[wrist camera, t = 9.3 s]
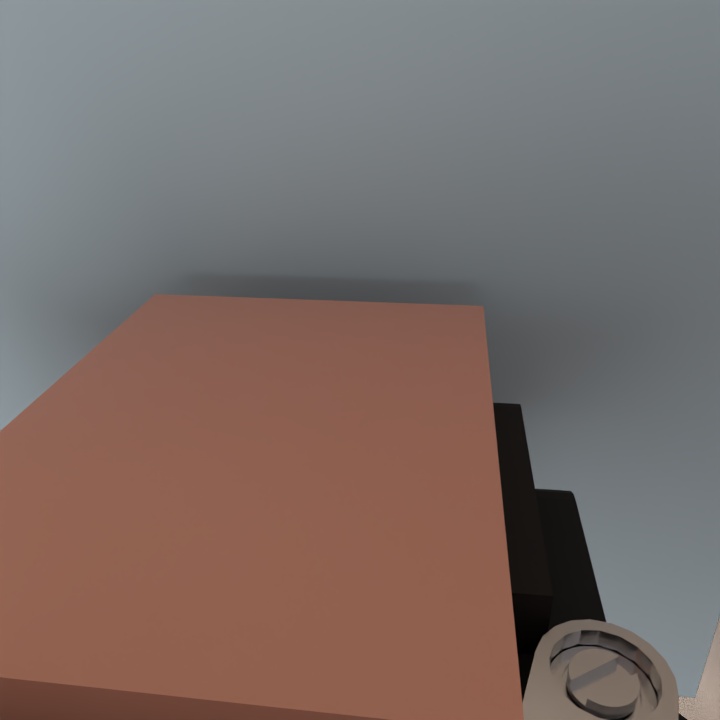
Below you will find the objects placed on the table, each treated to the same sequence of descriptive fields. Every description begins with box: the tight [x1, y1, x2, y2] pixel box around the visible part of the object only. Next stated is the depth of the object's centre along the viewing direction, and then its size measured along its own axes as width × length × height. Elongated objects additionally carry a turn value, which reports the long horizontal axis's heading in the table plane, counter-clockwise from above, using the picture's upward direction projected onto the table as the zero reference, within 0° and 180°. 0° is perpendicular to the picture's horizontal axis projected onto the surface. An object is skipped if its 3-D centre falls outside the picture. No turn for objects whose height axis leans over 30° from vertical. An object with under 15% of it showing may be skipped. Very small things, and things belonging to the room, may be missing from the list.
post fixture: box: [0, 0, 720, 698], centre depth 11 cm, size 16×14×7 cm
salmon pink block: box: [0, 294, 524, 720], centre depth 9 cm, size 5×5×7 cm
